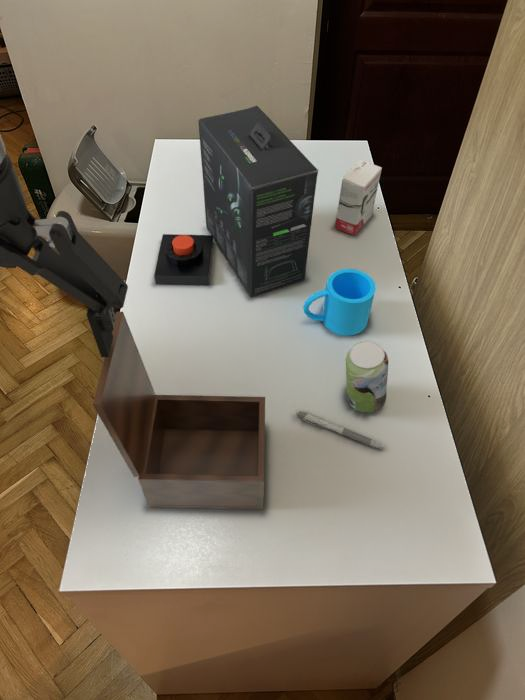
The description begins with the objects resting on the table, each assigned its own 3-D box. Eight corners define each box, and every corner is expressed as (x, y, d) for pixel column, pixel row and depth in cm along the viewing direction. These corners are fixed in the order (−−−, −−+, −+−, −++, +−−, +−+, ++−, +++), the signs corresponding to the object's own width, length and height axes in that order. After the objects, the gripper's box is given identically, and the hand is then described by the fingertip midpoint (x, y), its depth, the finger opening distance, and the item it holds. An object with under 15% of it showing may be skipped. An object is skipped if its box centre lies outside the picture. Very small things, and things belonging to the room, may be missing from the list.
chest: (264, 429, 80) (265, 396, 73) (263, 509, 72) (264, 481, 66) (161, 427, 80) (152, 394, 73) (148, 507, 72) (137, 479, 66)
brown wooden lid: (123, 311, 60) (116, 311, 60) (100, 404, 52) (92, 404, 52) (155, 392, 73) (149, 392, 73) (140, 477, 65) (134, 477, 65)
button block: (155, 284, 100) (152, 268, 96) (164, 242, 107) (161, 226, 104) (208, 285, 100) (207, 269, 96) (213, 243, 107) (212, 227, 104)
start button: (172, 255, 99) (170, 248, 98) (174, 241, 102) (173, 234, 100) (193, 256, 99) (192, 249, 98) (195, 242, 102) (194, 235, 100)
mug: (360, 299, 98) (367, 266, 91) (373, 332, 93) (382, 300, 86) (296, 306, 96) (299, 273, 90) (306, 340, 91) (310, 308, 85)
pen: (297, 412, 82) (297, 407, 81) (383, 447, 79) (385, 443, 78) (294, 417, 82) (295, 412, 81) (381, 453, 78) (383, 448, 77)
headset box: (307, 281, 101) (321, 157, 80) (250, 300, 97) (249, 176, 77) (256, 214, 113) (257, 92, 93) (204, 229, 110) (193, 106, 90)
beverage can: (389, 413, 82) (406, 366, 73) (343, 419, 82) (354, 373, 72) (377, 380, 86) (392, 332, 77) (333, 386, 85) (342, 338, 76)
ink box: (354, 236, 109) (364, 187, 100) (333, 228, 111) (341, 178, 101) (372, 215, 114) (383, 166, 104) (352, 207, 115) (361, 158, 106)
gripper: (132, 142, 42) (165, 321, 58) (-187, 134, 42) (-63, 317, 58) (115, 199, 37) (156, 377, 54) (-245, 191, 37) (-92, 372, 53)
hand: (42, 346), depth 56 cm, fingers open, 13 cm apart
